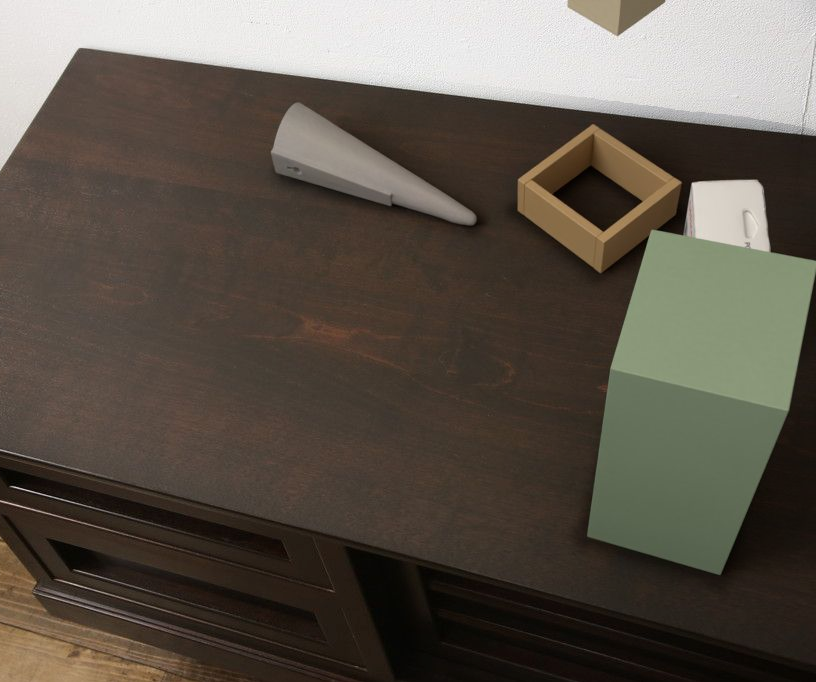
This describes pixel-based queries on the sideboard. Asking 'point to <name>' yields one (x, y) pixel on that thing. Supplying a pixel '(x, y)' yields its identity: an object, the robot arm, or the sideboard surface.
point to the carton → (614, 12)
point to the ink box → (728, 213)
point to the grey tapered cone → (354, 167)
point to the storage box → (618, 166)
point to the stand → (697, 396)
